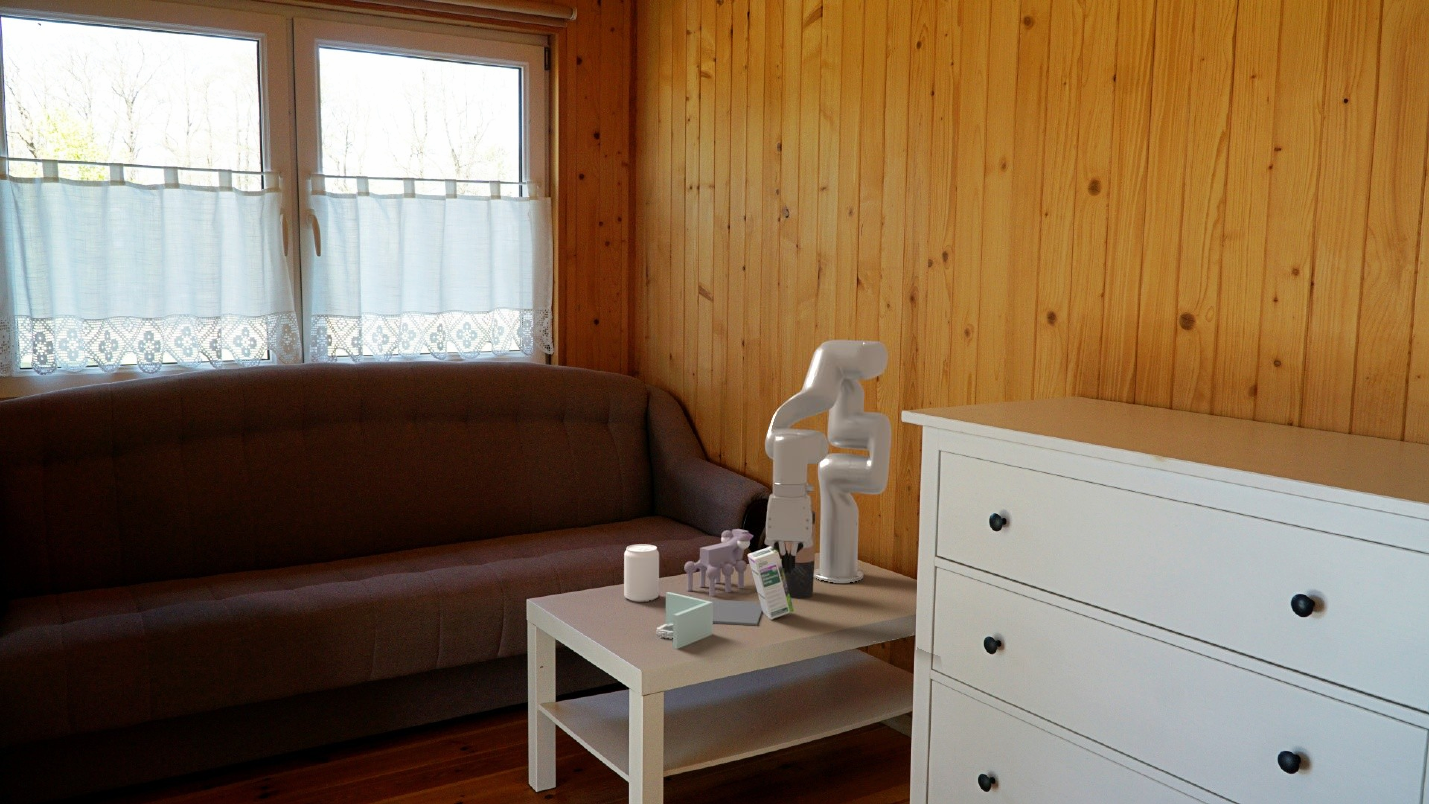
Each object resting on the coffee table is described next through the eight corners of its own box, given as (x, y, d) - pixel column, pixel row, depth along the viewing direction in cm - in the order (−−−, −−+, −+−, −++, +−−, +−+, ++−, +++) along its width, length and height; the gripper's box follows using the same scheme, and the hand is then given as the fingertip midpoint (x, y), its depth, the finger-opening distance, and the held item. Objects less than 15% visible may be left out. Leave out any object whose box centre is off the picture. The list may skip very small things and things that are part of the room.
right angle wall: (668, 625, 233) (668, 592, 232) (712, 636, 226) (712, 602, 225) (631, 639, 223) (632, 604, 223) (676, 651, 216) (677, 615, 216)
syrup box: (770, 620, 236) (754, 559, 233) (762, 612, 241) (746, 552, 239) (794, 612, 237) (778, 551, 234) (785, 604, 243) (770, 544, 240)
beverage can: (632, 591, 257) (632, 542, 256) (663, 595, 254) (664, 545, 253) (618, 600, 249) (618, 550, 248) (650, 604, 247) (650, 553, 245)
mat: (679, 599, 251) (679, 597, 250) (764, 604, 248) (764, 602, 248) (666, 620, 235) (666, 618, 235) (756, 625, 232) (756, 623, 232)
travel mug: (819, 593, 258) (821, 511, 255) (804, 600, 251) (805, 516, 249) (791, 588, 262) (793, 507, 260) (775, 595, 255) (777, 512, 253)
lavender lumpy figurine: (737, 574, 273) (740, 522, 272) (768, 585, 266) (771, 531, 264) (680, 589, 259) (682, 534, 257) (711, 600, 252) (714, 544, 250)
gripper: (824, 488, 239) (822, 569, 240) (757, 485, 241) (756, 566, 242) (823, 494, 231) (821, 577, 233) (754, 492, 233) (752, 574, 235)
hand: (788, 571), depth 238 cm, fingers closed
